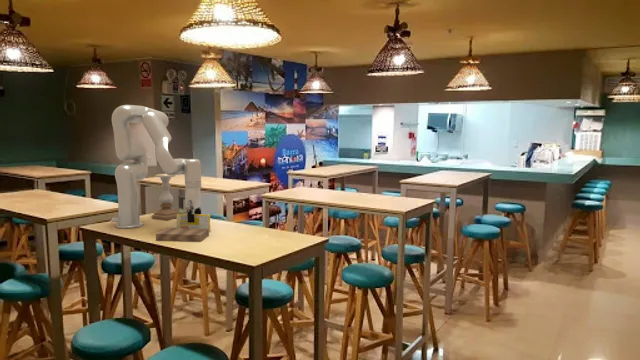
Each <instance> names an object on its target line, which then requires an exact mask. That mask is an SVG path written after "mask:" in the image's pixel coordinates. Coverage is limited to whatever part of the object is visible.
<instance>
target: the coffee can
mask: <svg viewBox="0 0 640 360" xmlns="http://www.w3.org/2000/svg"><path fill="white" fill-rule="evenodd" d="M194 210H195V209H194ZM191 211H192V210H191ZM178 212H179V214H187V209H185V194H180V195H178ZM193 214H195V213H193Z"/></svg>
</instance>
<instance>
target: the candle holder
mask: <svg viewBox="0 0 640 360" xmlns="http://www.w3.org/2000/svg"><path fill="white" fill-rule="evenodd" d="M155 177H156V178H159V180H160V181H161V182H162V183H161V185H160V188H161V189H162V192H161V194H160V196H159V198H158V201H159V202H160V203H161V204H160V209H158V211H155V212H153V215H151V218H152V219H153V220H160V221H167V222H168V221H172V220H177V214H179V210H175V209H173V208H172V207H173V204H172V202H173V200H174V197H173V195H172V193H171V192H170V189H171V184H170V180H171V179H172V178H173V177H176V175H168V174H166V173H157V174H155Z"/></svg>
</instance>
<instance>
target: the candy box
mask: <svg viewBox="0 0 640 360" xmlns="http://www.w3.org/2000/svg"><path fill="white" fill-rule="evenodd" d="M194 219H195V222H194V223H188V220H187V214H177V218H176V228H191V229H209V233H210V232H211V214H202V213H201V214H194Z"/></svg>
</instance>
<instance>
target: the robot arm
mask: <svg viewBox="0 0 640 360" xmlns="http://www.w3.org/2000/svg"><path fill="white" fill-rule="evenodd" d="M133 123H134V124H135V123H137V124H142V125H143V127H144V128H145V130H146V131H147V133H148V135H149V138H150V139H151V141H152V142H153V144H154V152H155V153H154V154H155V158H156V161H157V163H158V165H159V166H160V168H161V169H162V171H163V172H164V174H168V175H175V176H176V175H181V174H184V188H185V193H184V195H185V209H187V220H188V223H194V222H195V219H194V214H193V213H195V214H202V193H201V188H202V170H201V169H202V167H201V160H200V159H198V158H197V159H196V158H173V156H172V155H171V153H170V150H169V143H170V142H171V141H172V135H171V134H170V132H169V130H168V129H167V127H168V125H169V117H168V115H167V114H166V113H165V112H162V111H160V110H156V109H154V108H150V107H149V106H148V107H147V106H143V105H134V104H123V105H120V106H118V107H116V108H115V109H114V111H113V112H112V114H111V124H112V129H113V138H114V146H115V147H114V148H115V154H116V157H117V158H118V159H119V160H120V161H129V162H124V163H121V164H119V165H118V166H117V167H116V168H115V171H114V177H115V181H116V187H117V202H118V203H117V205H118V207H117V208H118V217H112V218H111V223H116V224H115V227H116V228H118V229H136V228H140V227H142V226H143V225H144V222H143V221H140V195H139V193H140V192H139V187H138V184H137V182H139V181H142V180H144V179H145V178H147V176H148V173H149V165H148V156H147V149H146V147H145V145H144V144H143V143H142V142H141V141H139V140H135V139H134V133H133V129H132V127H131V126H130V124H133ZM194 209H195V210H194ZM191 210H192V211H191Z"/></svg>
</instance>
